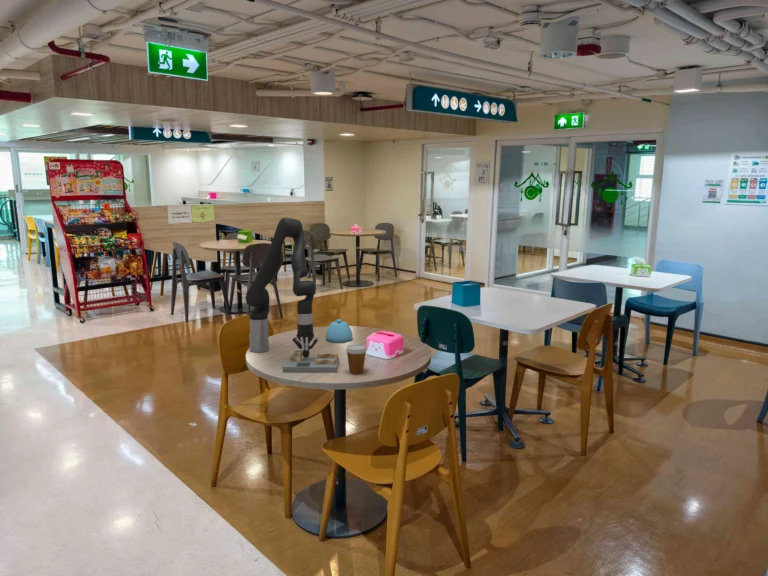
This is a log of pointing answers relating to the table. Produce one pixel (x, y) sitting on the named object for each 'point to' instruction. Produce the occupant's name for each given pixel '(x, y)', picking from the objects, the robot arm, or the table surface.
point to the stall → (327, 360)
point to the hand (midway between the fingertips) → (306, 357)
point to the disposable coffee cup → (356, 358)
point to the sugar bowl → (339, 332)
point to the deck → (310, 365)
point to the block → (296, 355)
